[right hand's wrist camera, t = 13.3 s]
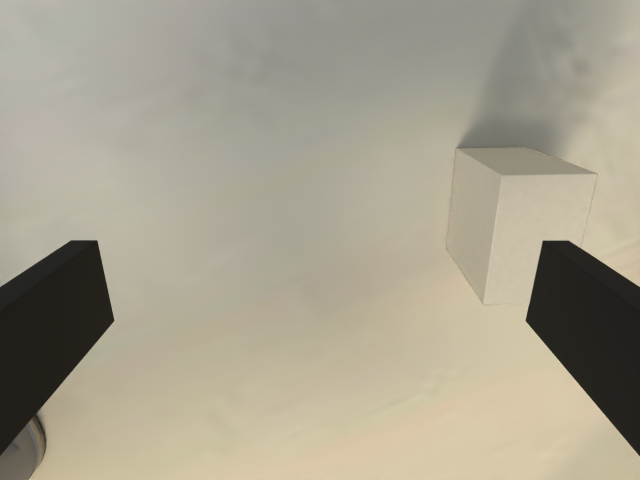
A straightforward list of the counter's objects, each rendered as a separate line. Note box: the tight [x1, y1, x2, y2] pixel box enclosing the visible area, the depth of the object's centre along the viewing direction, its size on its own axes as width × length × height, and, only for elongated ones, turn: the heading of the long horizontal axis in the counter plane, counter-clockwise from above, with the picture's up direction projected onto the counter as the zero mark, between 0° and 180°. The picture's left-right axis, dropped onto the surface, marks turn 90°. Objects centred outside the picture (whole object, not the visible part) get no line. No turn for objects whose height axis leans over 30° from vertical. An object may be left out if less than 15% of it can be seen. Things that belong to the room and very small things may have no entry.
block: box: [446, 147, 598, 305], centre depth 27 cm, size 5×8×8 cm, turn 1°
